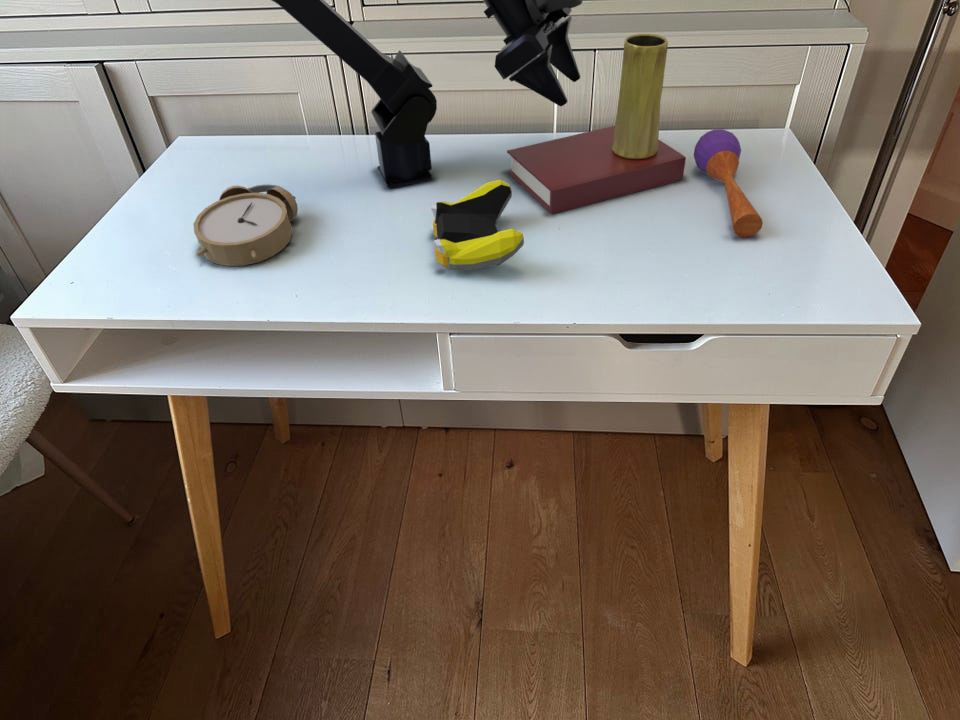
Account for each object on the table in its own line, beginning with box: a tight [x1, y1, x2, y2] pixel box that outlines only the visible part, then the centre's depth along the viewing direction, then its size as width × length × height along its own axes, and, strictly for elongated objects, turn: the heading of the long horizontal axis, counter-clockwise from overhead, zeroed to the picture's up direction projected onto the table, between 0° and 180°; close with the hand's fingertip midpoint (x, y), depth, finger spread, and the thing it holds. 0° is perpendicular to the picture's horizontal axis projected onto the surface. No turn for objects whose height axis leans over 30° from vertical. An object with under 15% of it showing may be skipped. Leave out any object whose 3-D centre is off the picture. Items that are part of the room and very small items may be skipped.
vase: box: [612, 33, 669, 159], centre depth 93 cm, size 6×6×14 cm
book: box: [506, 125, 687, 215], centre depth 98 cm, size 20×13×3 cm, turn 113°
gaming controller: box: [430, 179, 525, 271], centre depth 85 cm, size 15×6×10 cm
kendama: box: [693, 128, 764, 239], centre depth 91 cm, size 6×6×20 cm
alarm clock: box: [192, 184, 299, 267], centre depth 90 cm, size 11×5×15 cm
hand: (571, 91), depth 95 cm, fingers open, 9 cm apart
